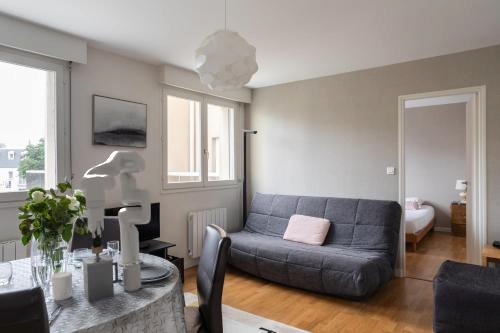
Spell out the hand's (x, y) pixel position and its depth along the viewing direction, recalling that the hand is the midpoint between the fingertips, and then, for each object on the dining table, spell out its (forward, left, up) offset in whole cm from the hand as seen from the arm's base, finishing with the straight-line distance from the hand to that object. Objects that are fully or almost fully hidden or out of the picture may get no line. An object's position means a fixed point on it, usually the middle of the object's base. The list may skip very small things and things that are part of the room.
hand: (97, 246), depth 144 cm
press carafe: (0, +2, -21) cm, 21 cm away
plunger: (0, 0, -14) cm, 14 cm away
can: (+2, +14, -22) cm, 26 cm away
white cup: (-8, -13, -22) cm, 26 cm away
